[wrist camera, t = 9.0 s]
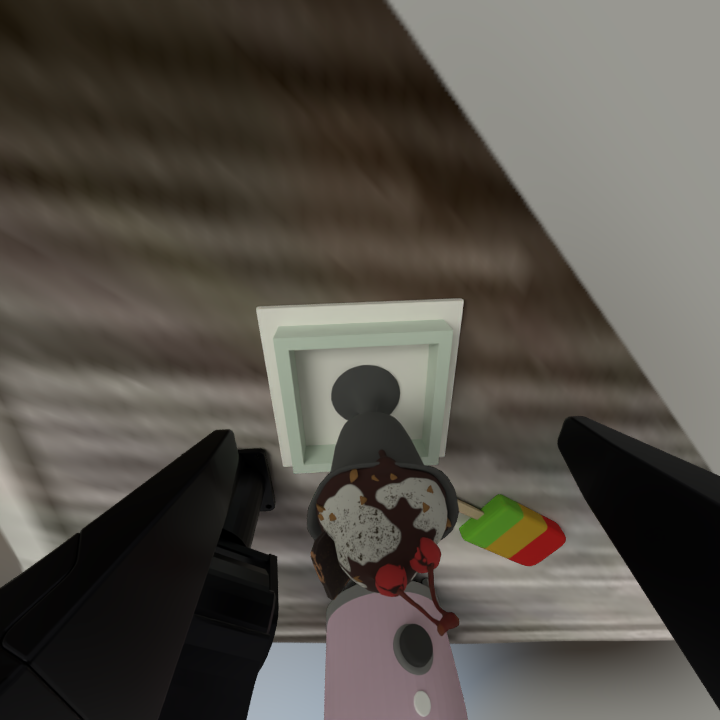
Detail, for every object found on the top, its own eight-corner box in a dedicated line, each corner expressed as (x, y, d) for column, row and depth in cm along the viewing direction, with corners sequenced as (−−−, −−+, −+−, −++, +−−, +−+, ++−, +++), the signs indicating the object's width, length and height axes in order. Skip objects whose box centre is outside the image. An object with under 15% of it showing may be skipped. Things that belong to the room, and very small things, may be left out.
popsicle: (521, 553, 34) (531, 571, 33) (411, 504, 30) (416, 522, 28) (561, 522, 33) (573, 540, 31) (450, 465, 28) (457, 482, 26)
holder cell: (442, 452, 27) (452, 475, 25) (284, 462, 26) (279, 486, 24) (461, 298, 21) (475, 310, 19) (257, 306, 20) (248, 319, 18)
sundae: (419, 355, 22) (545, 595, 9) (403, 433, 25) (480, 705, 11) (321, 348, 21) (293, 597, 8) (317, 430, 24) (291, 713, 11)
